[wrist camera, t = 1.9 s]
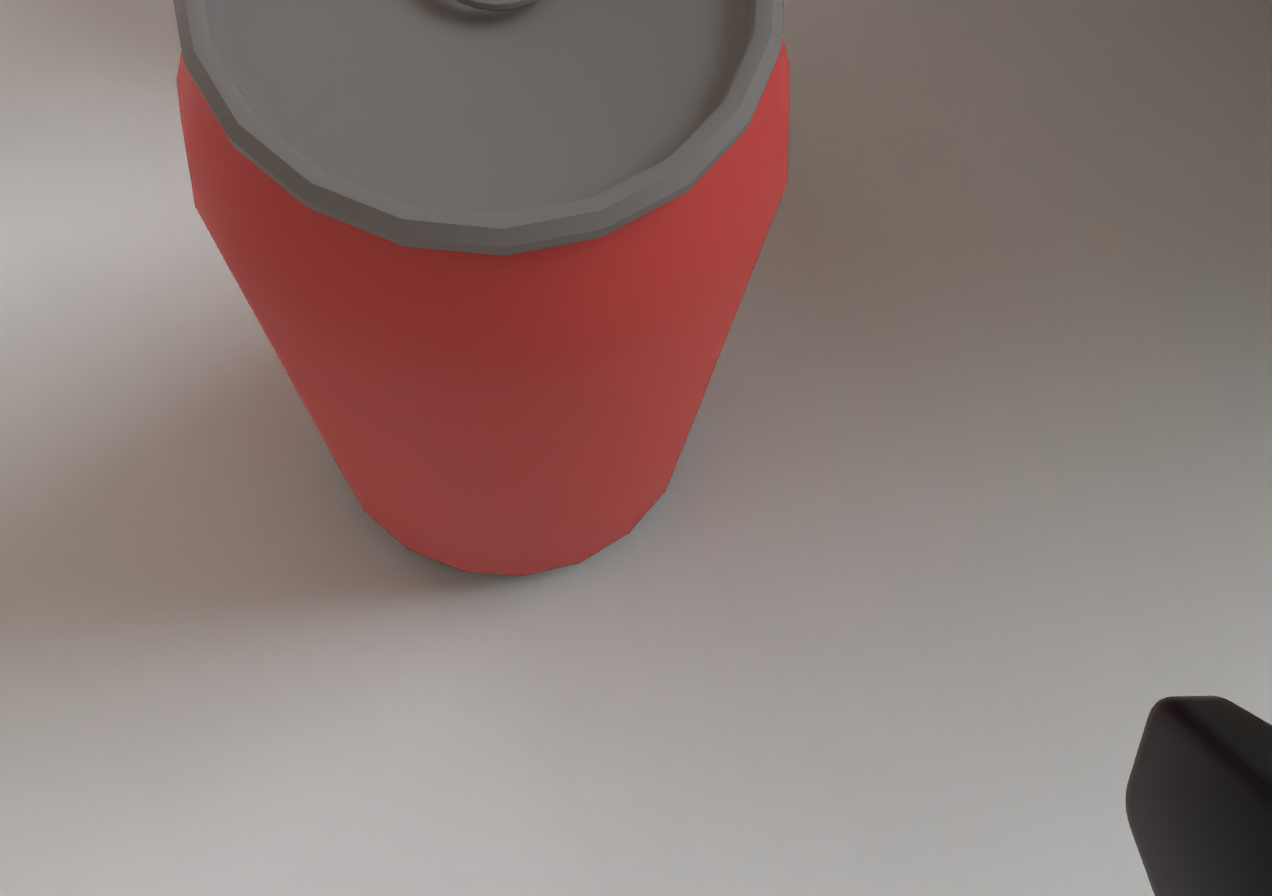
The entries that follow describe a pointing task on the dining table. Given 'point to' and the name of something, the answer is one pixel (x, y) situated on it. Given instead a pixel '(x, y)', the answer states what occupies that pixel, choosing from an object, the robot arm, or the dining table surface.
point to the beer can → (491, 240)
